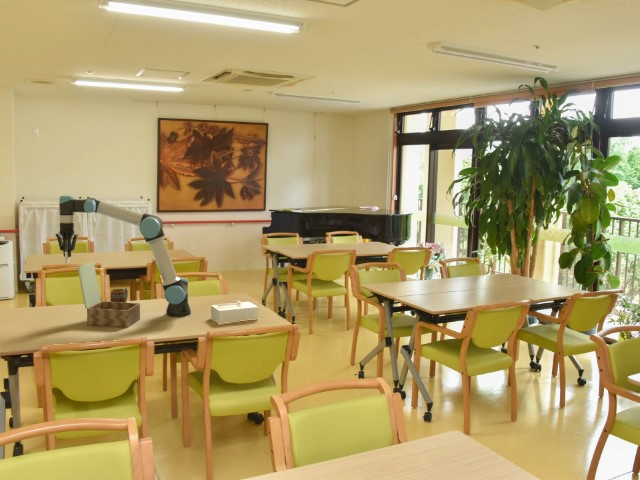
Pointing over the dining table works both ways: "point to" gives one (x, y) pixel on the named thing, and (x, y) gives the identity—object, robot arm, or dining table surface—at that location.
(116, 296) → the mug
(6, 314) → the dining table surface
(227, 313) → the tissue box
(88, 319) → the box
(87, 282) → the lid
